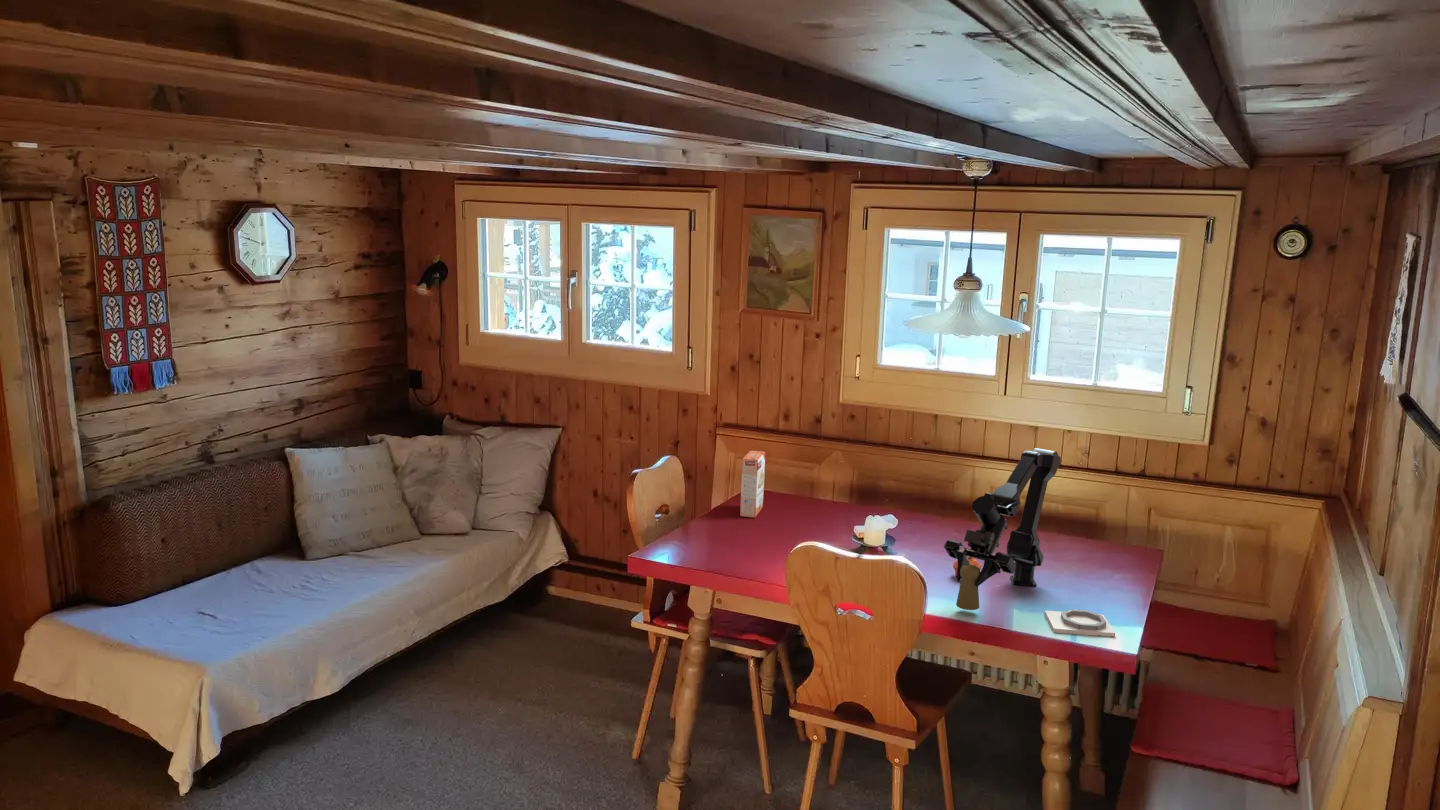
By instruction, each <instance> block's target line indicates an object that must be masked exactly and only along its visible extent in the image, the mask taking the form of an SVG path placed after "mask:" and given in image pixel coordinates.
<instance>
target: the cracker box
mask: <svg viewBox="0 0 1440 810" xmlns="http://www.w3.org/2000/svg"><path fill="white" fill-rule="evenodd" d="M741 463H742V464H741V483H740V484H741V485H740V486H741V489H740V490H741V491H740V505H739V506H740V508H739V509H740V511H739V516H740V517H744V518H752V519H753V518H754V519H756V517H757V516H758V515H759V513H760V512H761V510H762V509H763V507H764V490H765V469H766V467H765V466H766V451H762V450H749V452H747V454H746V455H745V456H743V458H742V462H741Z"/></svg>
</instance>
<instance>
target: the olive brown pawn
mask: <svg viewBox="0 0 1440 810" xmlns="http://www.w3.org/2000/svg"><path fill="white" fill-rule="evenodd" d="M980 572H981V569H979V568H978V567H977V566H974V565H964V566H962V567H961V569H960V575H961V577H962V579H961V580H960V584H959V589H958V593H957V598H956V599H957V600H956V603H955V605H956V607H957V608H960V609H962V610H966V611H976V610H979V609H980V597H979V592H980V591H979V586H978V587H976V586H975V583H976V580H977V578H978V576H979V574H980Z"/></svg>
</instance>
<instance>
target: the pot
mask: <svg viewBox="0 0 1440 810" xmlns="http://www.w3.org/2000/svg"><path fill="white" fill-rule="evenodd" d="M967 560H968V562H969V563H970V564H969V565H974V566H977V567H978V568H979V569H980V570H982V565H981V564H980V562H979V560H977V559H976V558H973V557H968V558H967ZM952 568H953V569H954V573H955V576H956V577H957V569H958V560H957V559H956V560H955V562H954V563H953V564H952Z"/></svg>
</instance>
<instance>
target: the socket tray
mask: <svg viewBox="0 0 1440 810" xmlns="http://www.w3.org/2000/svg"><path fill="white" fill-rule="evenodd" d="M1044 616H1045V618H1046V620H1047V622H1048V624H1049V626H1050V628H1051V630H1052V631H1053V633H1059V634H1074V635H1086V636H1097V635H1101V637H1110V636H1115V637H1116V632H1115V631H1114V629H1113V627H1112V626H1111V624H1110V622H1109V621H1108V620H1107V618H1106V616H1105V615H1104V614H1098V613H1096V612H1093V611H1090V610H1084V609H1067V610H1065V611H1058V610H1057V611H1056V610H1044Z"/></svg>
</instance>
